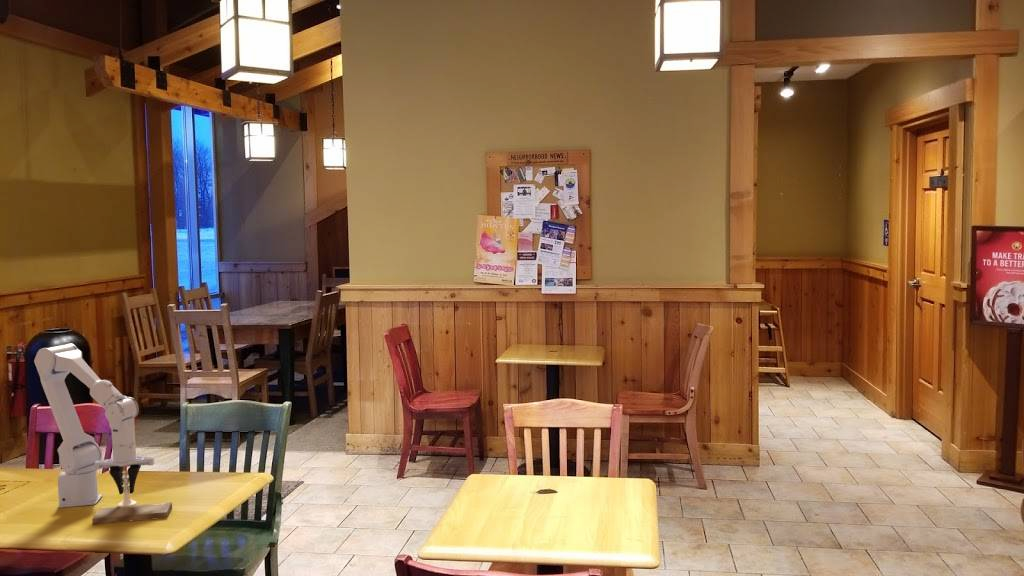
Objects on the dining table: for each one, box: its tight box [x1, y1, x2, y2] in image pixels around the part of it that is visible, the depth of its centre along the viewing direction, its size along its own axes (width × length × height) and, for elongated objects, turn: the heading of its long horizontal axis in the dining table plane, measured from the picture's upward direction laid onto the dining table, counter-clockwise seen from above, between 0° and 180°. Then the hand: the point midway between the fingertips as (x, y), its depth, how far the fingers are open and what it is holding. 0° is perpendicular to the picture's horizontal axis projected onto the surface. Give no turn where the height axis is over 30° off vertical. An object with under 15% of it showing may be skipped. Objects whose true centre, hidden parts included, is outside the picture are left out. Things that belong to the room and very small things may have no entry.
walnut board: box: [91, 501, 173, 525], centre depth 228 cm, size 18×8×2 cm, turn 102°
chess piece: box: [117, 469, 138, 507], centre depth 235 cm, size 5×5×10 cm
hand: (126, 492), depth 235 cm, fingers closed on chess piece
